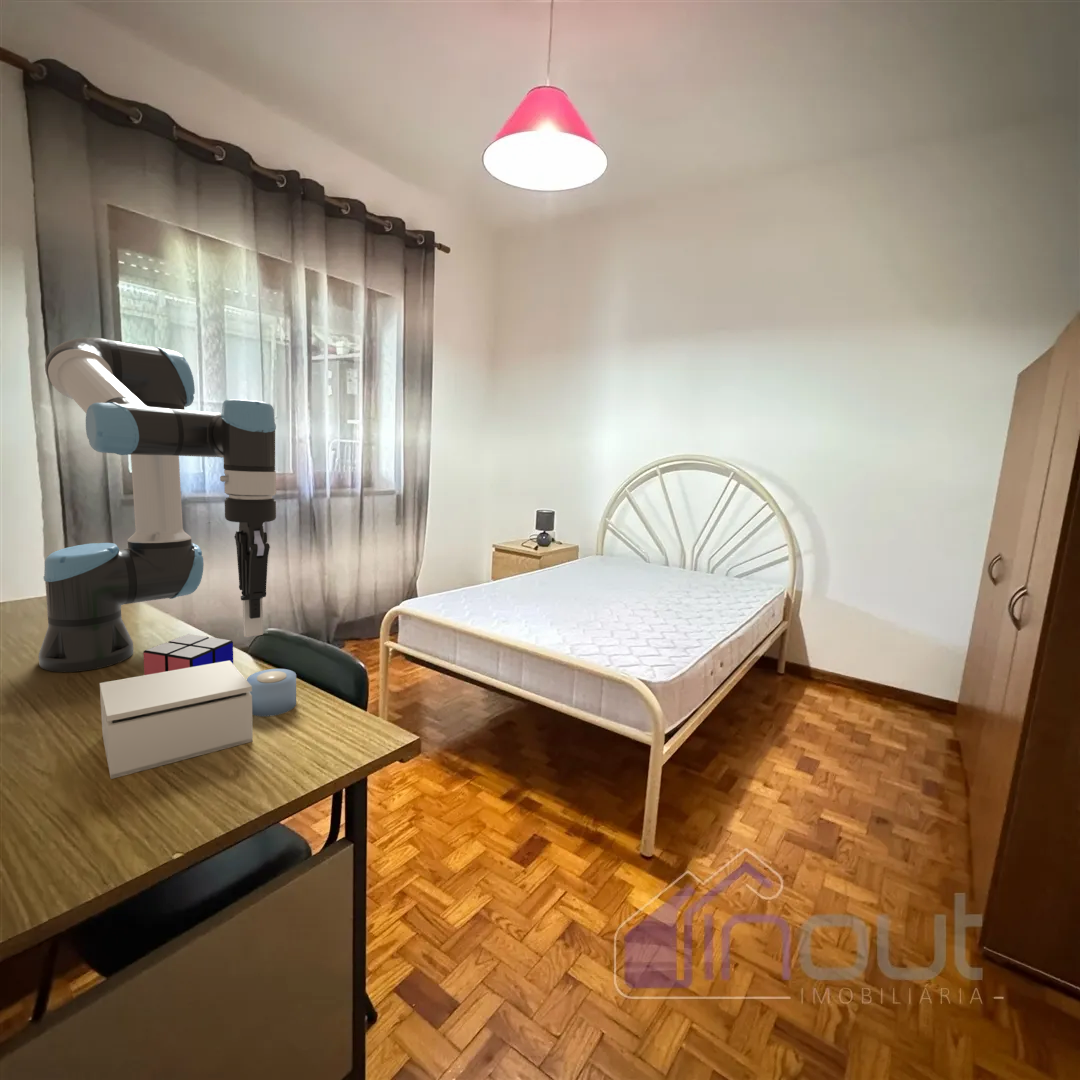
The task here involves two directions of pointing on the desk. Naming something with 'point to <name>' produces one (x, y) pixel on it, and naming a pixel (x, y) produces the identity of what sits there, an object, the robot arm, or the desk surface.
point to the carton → (176, 733)
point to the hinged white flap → (171, 689)
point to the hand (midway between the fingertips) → (253, 634)
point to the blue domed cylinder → (273, 691)
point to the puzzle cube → (187, 653)
